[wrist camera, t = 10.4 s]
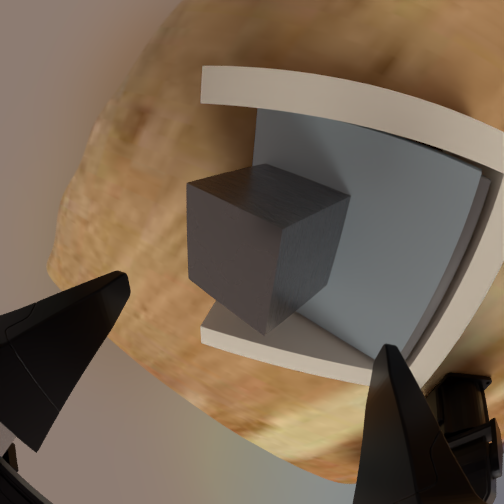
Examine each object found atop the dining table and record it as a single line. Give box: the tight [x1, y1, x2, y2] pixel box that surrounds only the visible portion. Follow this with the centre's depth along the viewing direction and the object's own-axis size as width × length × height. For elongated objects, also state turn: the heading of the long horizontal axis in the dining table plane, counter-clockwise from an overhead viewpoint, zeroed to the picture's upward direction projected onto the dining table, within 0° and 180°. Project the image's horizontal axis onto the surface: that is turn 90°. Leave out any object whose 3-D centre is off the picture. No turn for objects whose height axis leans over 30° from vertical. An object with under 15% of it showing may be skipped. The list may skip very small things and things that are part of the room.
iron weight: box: [187, 163, 351, 336], centre depth 14 cm, size 5×5×5 cm
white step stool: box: [200, 66, 504, 389], centre depth 15 cm, size 14×15×8 cm
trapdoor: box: [252, 108, 491, 360], centre depth 14 cm, size 12×11×1 cm
